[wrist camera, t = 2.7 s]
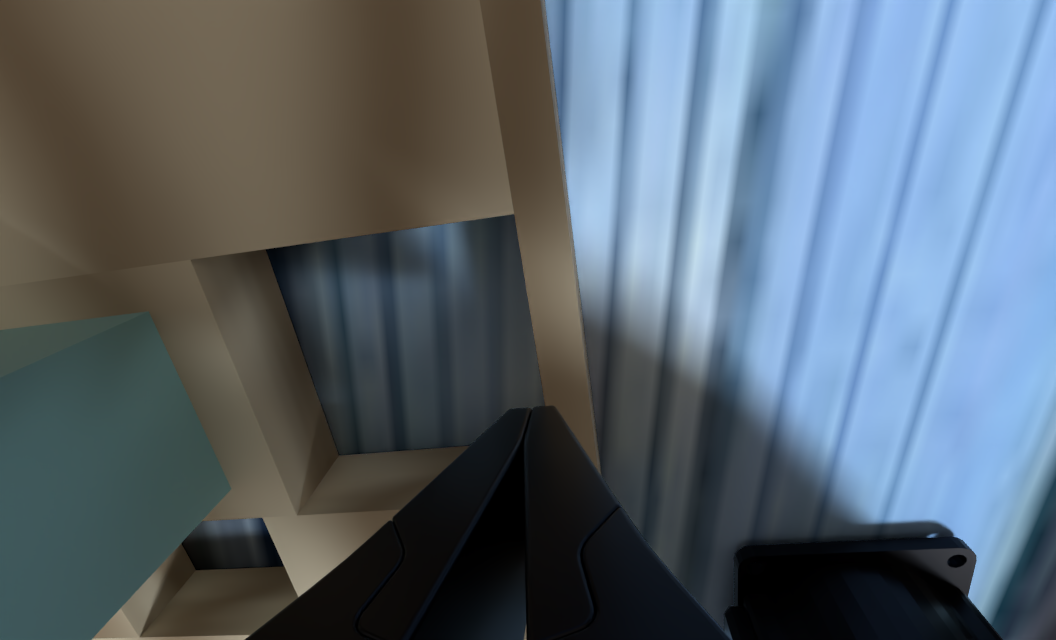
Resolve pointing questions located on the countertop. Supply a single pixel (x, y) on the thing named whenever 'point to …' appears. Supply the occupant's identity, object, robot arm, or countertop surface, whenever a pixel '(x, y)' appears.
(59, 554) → the block
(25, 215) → the trap board
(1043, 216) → the countertop surface
